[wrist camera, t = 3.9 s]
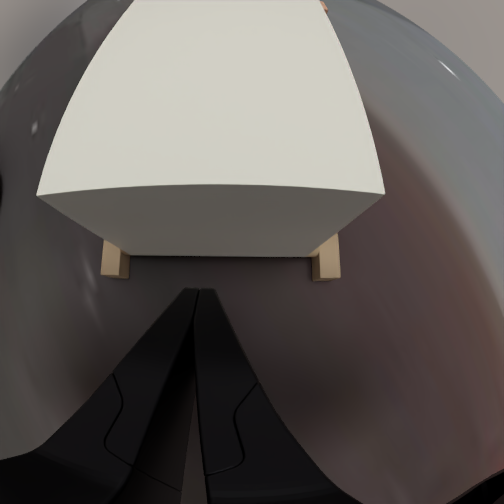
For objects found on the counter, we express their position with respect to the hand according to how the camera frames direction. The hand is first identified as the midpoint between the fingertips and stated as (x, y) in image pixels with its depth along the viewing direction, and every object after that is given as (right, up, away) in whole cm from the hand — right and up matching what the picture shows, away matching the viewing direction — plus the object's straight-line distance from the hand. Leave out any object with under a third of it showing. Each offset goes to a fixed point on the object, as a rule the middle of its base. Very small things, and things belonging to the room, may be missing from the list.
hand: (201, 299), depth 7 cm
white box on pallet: (0, +7, +7) cm, 10 cm away
